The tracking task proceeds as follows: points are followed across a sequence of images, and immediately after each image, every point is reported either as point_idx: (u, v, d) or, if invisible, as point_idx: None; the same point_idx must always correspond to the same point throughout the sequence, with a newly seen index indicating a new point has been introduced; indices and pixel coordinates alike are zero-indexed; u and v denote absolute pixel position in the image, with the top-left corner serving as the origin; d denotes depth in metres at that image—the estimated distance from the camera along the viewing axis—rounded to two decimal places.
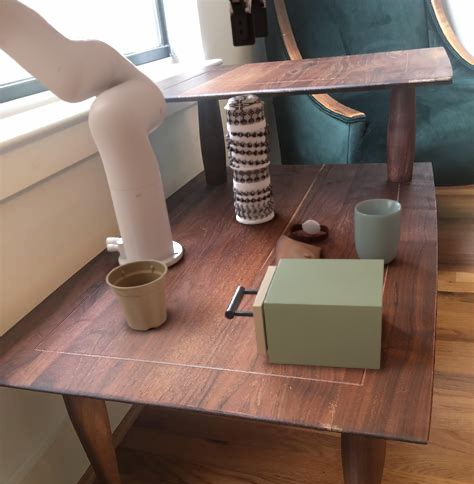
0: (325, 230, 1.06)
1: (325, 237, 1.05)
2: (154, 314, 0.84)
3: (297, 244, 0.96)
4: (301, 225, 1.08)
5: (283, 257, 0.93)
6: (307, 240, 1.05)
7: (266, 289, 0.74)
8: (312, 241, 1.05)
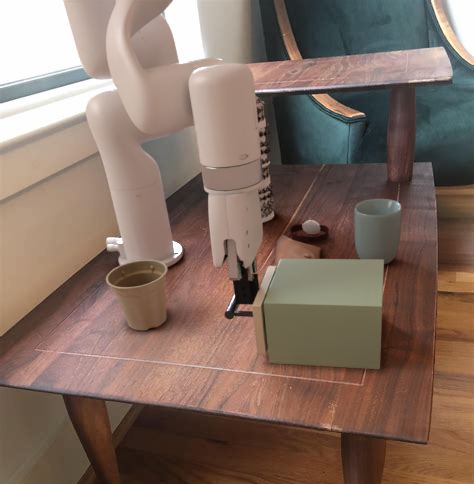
0: (325, 230, 1.06)
1: (325, 237, 1.05)
2: (154, 314, 0.84)
3: (297, 244, 0.96)
4: (301, 225, 1.08)
5: (283, 257, 0.93)
6: (307, 240, 1.05)
7: (266, 289, 0.74)
8: (312, 241, 1.05)
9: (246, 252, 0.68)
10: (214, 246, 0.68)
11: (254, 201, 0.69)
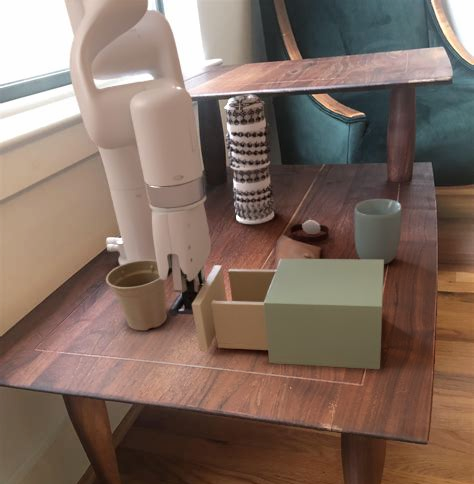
0: (325, 230, 1.06)
1: (325, 237, 1.05)
2: (154, 314, 0.84)
3: (297, 244, 0.96)
4: (301, 225, 1.08)
5: (283, 257, 0.93)
6: (307, 240, 1.05)
7: (208, 288, 0.76)
8: (312, 241, 1.05)
9: (188, 266, 0.71)
10: (158, 260, 0.71)
11: (197, 217, 0.72)
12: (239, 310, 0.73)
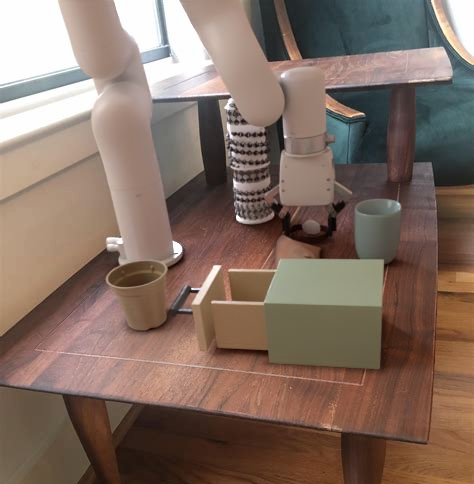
0: (325, 230, 1.06)
1: (325, 237, 1.05)
2: (154, 314, 0.84)
3: (297, 244, 0.96)
4: (301, 225, 1.08)
5: (283, 257, 0.93)
6: (307, 240, 1.05)
7: (207, 288, 0.76)
8: (312, 241, 1.05)
9: (280, 193, 1.01)
10: None
11: (302, 167, 0.97)
12: (239, 310, 0.73)
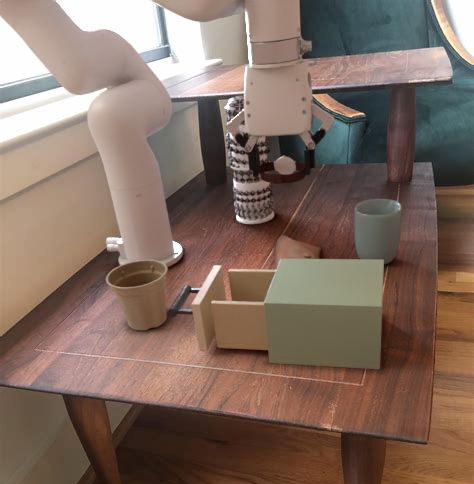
0: (302, 168, 0.87)
1: (301, 176, 0.86)
2: (154, 314, 0.84)
3: (297, 244, 0.96)
4: (273, 163, 0.89)
5: (283, 257, 0.93)
6: (280, 180, 0.86)
7: (207, 288, 0.76)
8: (286, 181, 0.86)
9: (245, 119, 0.82)
10: None
11: (271, 83, 0.78)
12: (239, 310, 0.73)
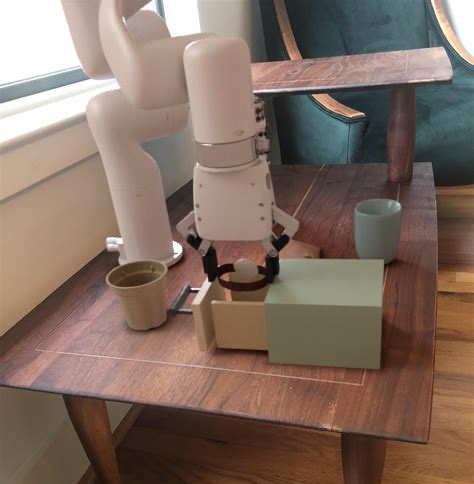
0: (265, 273, 0.75)
1: (263, 284, 0.74)
2: (154, 314, 0.84)
3: (297, 244, 0.96)
4: (232, 265, 0.77)
5: (283, 257, 0.93)
6: (238, 288, 0.74)
7: (207, 288, 0.76)
8: (246, 290, 0.74)
9: (196, 222, 0.71)
10: None
11: (222, 186, 0.66)
12: (239, 310, 0.73)
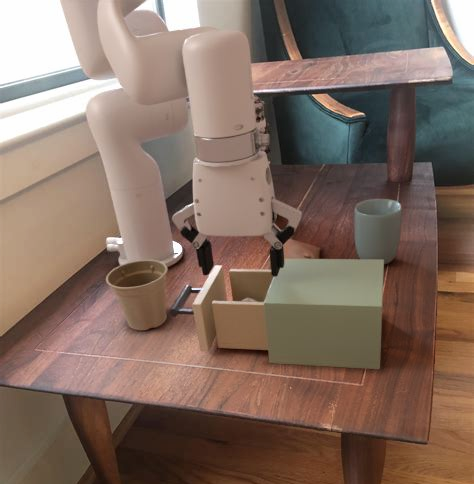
0: None
1: None
2: (154, 314, 0.84)
3: (297, 244, 0.96)
4: None
5: None
6: None
7: (208, 288, 0.76)
8: None
9: (195, 218, 0.70)
10: None
11: (222, 181, 0.66)
12: (240, 310, 0.72)
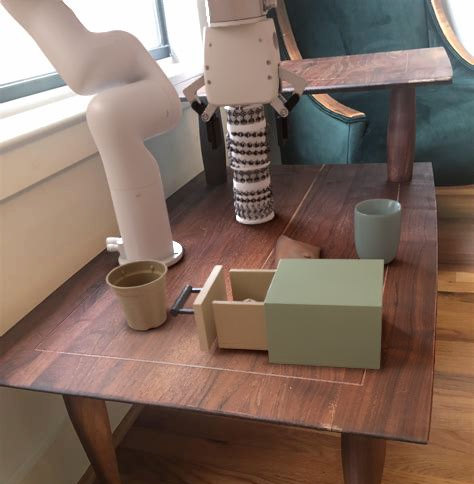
0: None
1: None
2: (154, 314, 0.84)
3: (297, 244, 0.96)
4: None
5: (282, 257, 0.93)
6: None
7: (208, 288, 0.76)
8: None
9: (205, 87, 0.74)
10: None
11: (231, 44, 0.70)
12: (240, 310, 0.72)
